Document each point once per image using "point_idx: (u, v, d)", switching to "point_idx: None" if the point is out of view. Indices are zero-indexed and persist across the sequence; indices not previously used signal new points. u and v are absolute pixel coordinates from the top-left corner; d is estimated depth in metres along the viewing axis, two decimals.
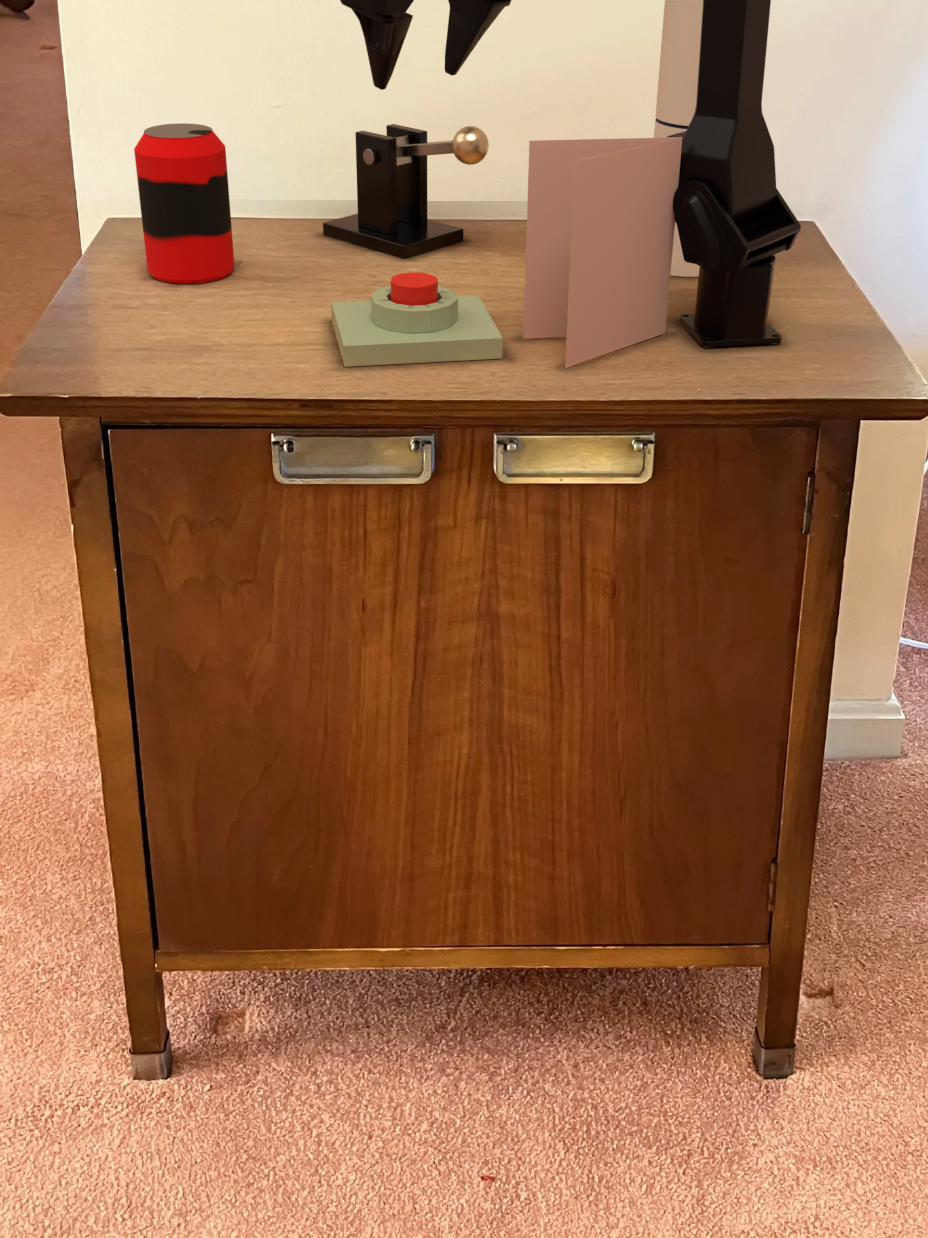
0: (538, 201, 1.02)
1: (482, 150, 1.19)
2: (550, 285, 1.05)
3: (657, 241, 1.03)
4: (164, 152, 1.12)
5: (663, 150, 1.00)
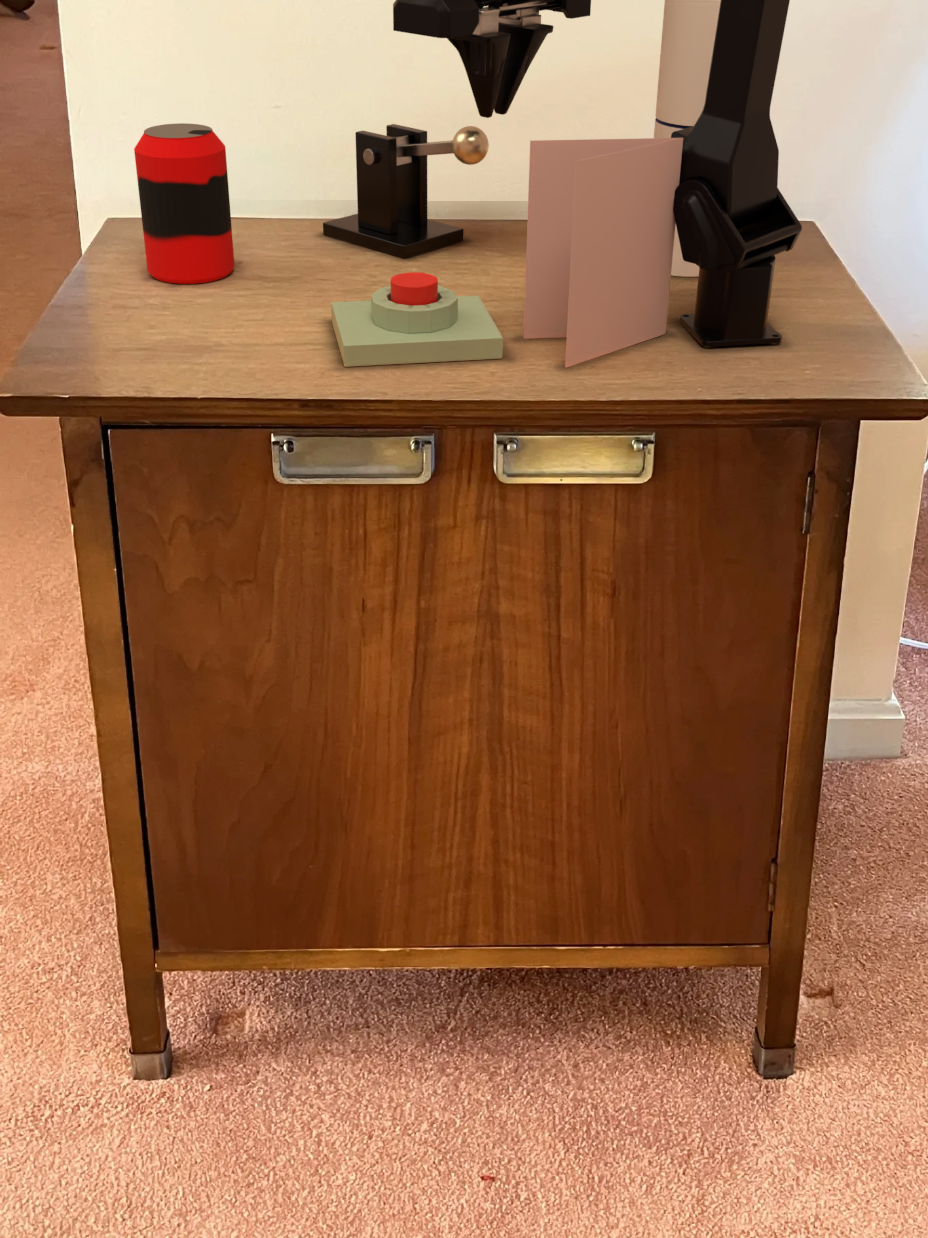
0: (539, 201, 1.02)
1: (482, 150, 1.19)
2: (550, 286, 1.05)
3: (657, 242, 1.03)
4: (164, 152, 1.12)
5: (664, 150, 1.00)
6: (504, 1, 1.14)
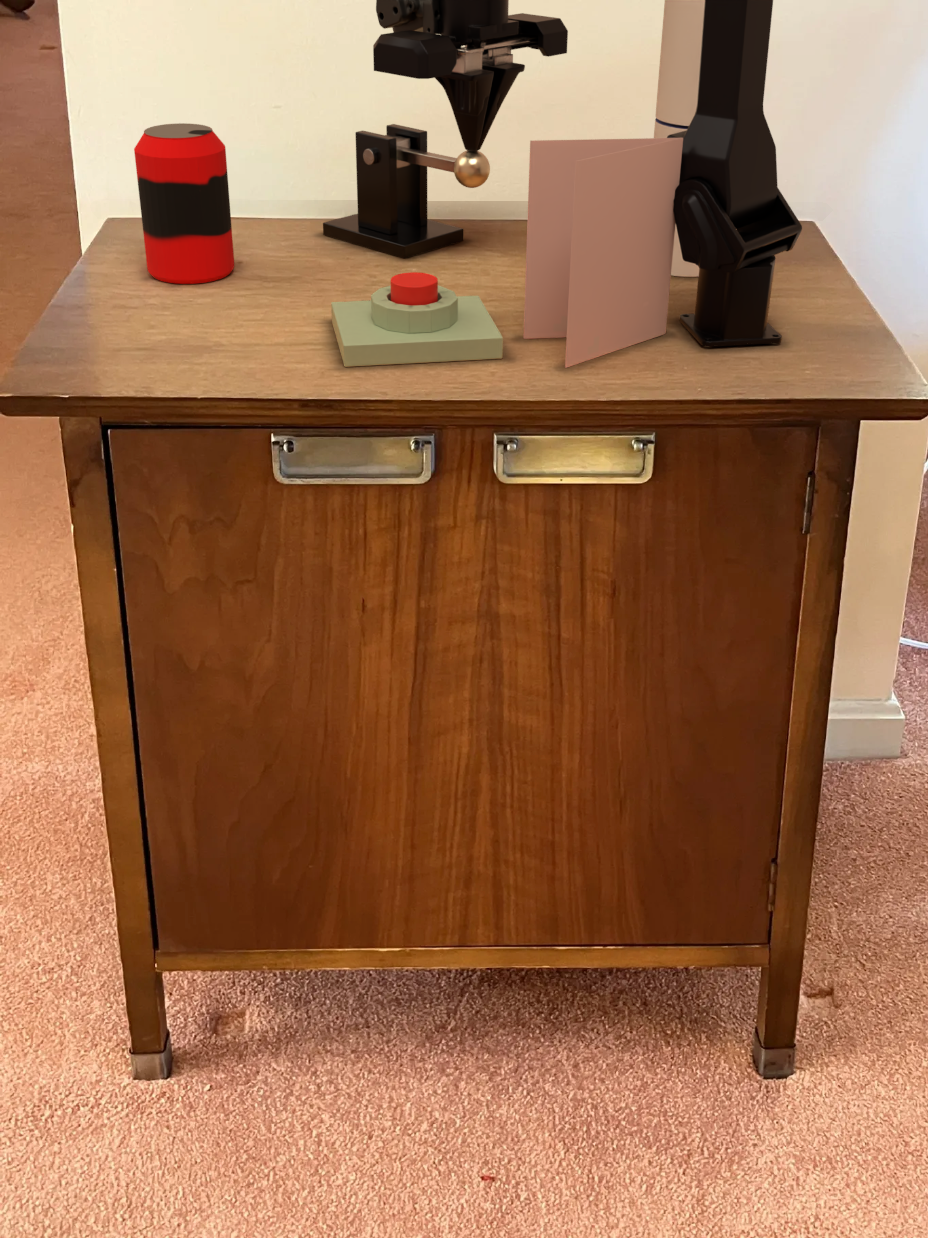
0: (539, 201, 1.02)
1: (483, 177, 1.20)
2: (550, 286, 1.05)
3: (657, 242, 1.03)
4: (164, 152, 1.12)
5: (664, 150, 1.00)
6: None
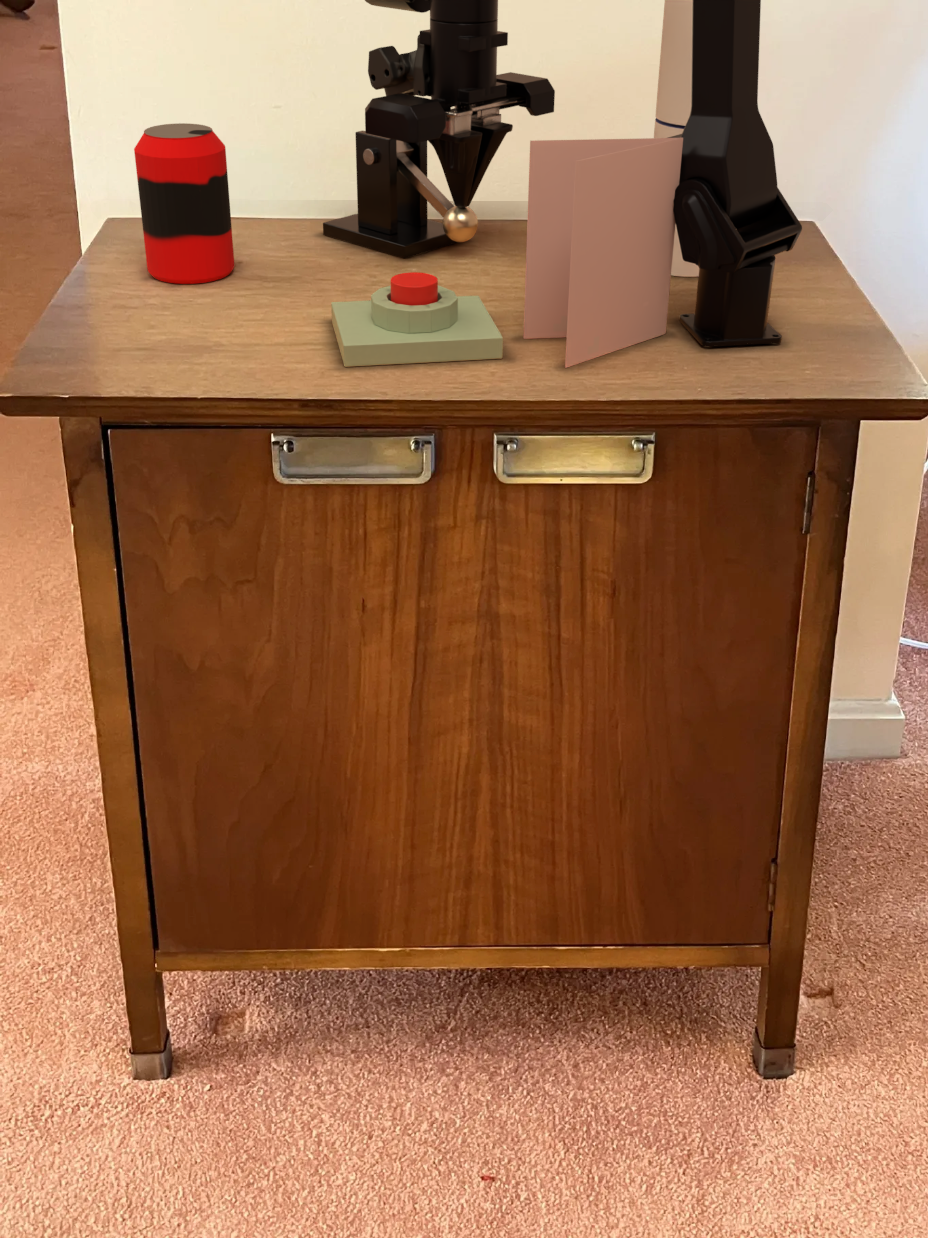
0: (539, 202, 1.02)
1: (468, 239, 1.24)
2: (550, 286, 1.05)
3: (657, 242, 1.03)
4: (164, 152, 1.12)
5: (664, 150, 1.00)
6: None
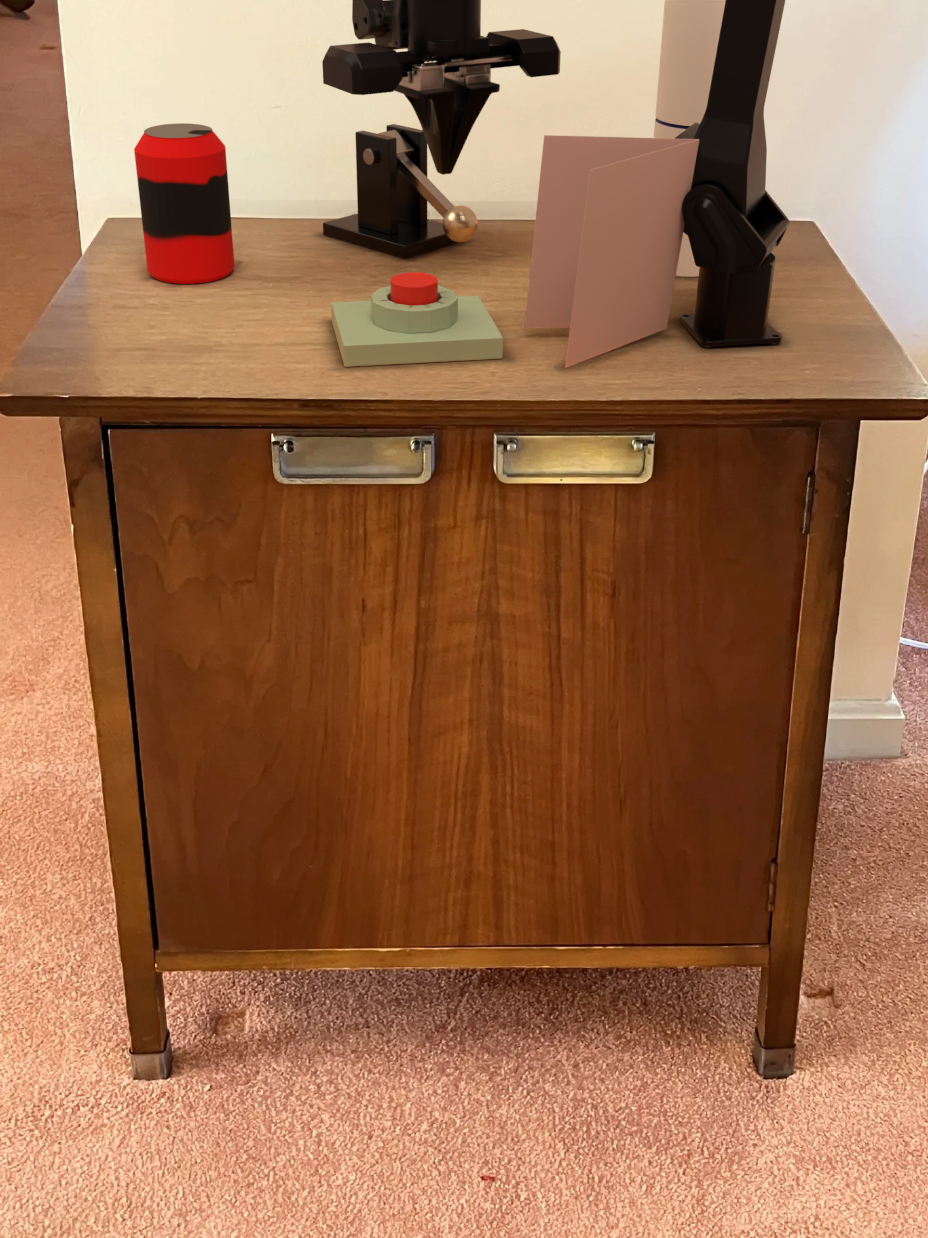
0: (549, 195, 1.00)
1: (467, 239, 1.24)
2: (555, 278, 1.04)
3: (666, 241, 1.02)
4: (164, 152, 1.12)
5: (679, 153, 0.98)
6: (454, 57, 1.09)
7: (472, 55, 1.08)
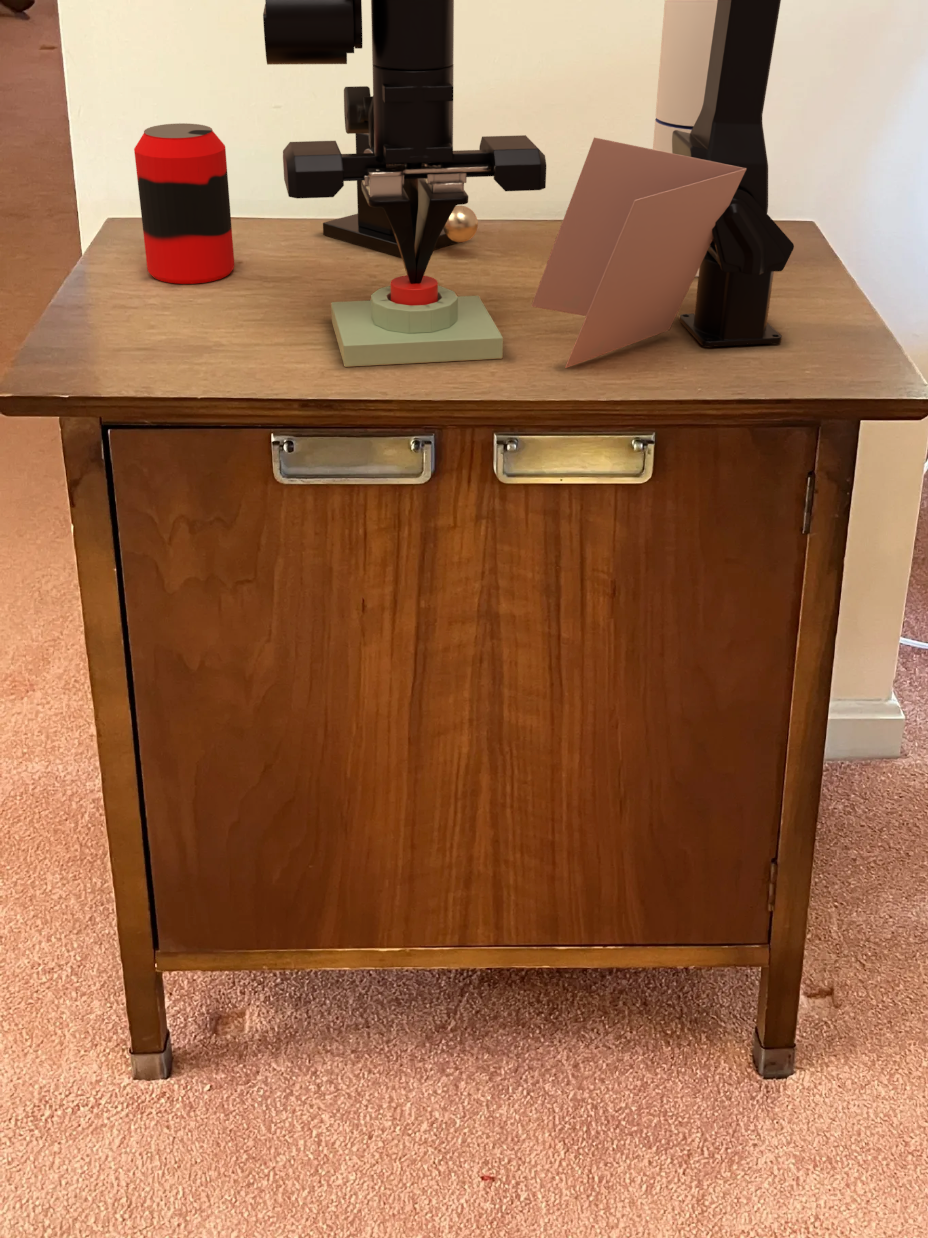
0: (585, 193, 0.98)
1: (467, 239, 1.24)
2: (572, 267, 1.03)
3: (689, 257, 1.01)
4: (164, 152, 1.12)
5: (723, 182, 0.96)
6: (432, 161, 1.01)
7: (446, 162, 0.99)
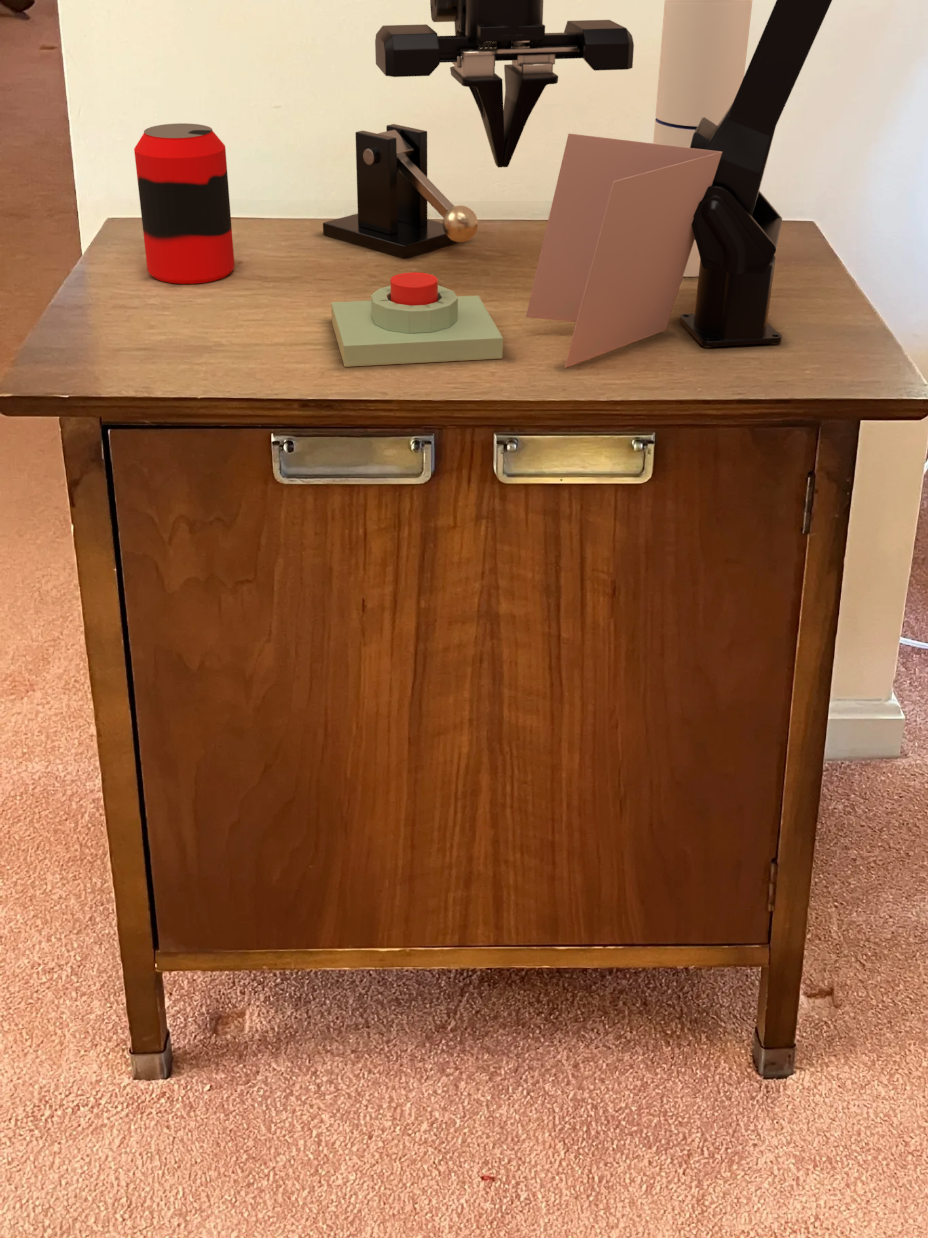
0: (566, 192, 0.99)
1: (467, 239, 1.24)
2: (562, 272, 1.04)
3: (676, 249, 1.02)
4: (164, 152, 1.12)
5: (701, 165, 0.97)
6: (521, 45, 1.03)
7: (535, 43, 1.02)
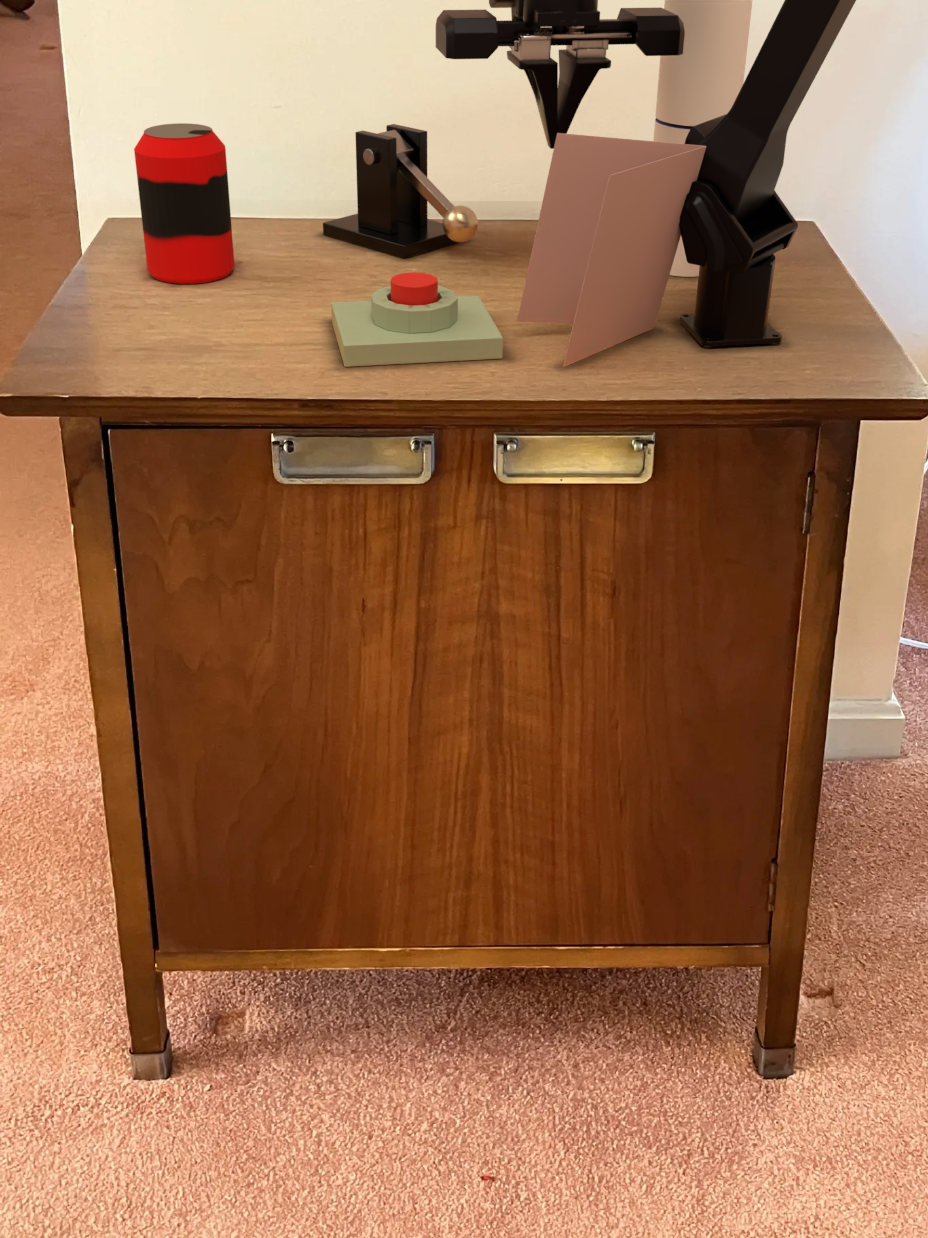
0: (555, 193, 1.00)
1: (467, 239, 1.24)
2: (552, 274, 1.04)
3: (664, 244, 1.03)
4: (164, 152, 1.12)
5: (687, 159, 0.98)
6: (575, 30, 1.07)
7: (589, 29, 1.06)
